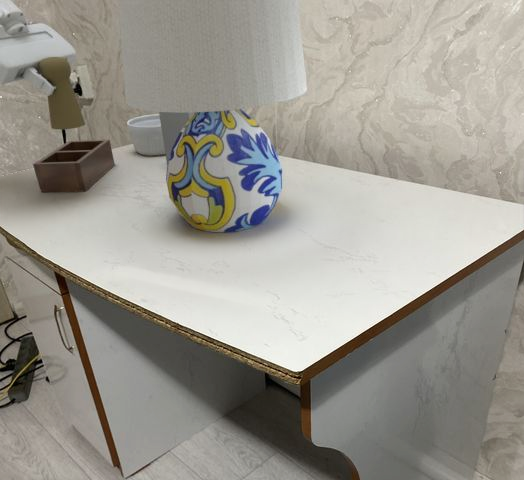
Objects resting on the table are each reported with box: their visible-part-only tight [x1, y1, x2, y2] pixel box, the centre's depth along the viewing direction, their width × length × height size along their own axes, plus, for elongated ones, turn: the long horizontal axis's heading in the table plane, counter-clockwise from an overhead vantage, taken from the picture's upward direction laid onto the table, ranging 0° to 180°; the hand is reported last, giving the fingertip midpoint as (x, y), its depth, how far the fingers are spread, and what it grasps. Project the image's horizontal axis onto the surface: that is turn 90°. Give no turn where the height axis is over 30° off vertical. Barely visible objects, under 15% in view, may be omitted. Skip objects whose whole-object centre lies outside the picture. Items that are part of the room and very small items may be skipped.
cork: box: [39, 57, 86, 130], centre depth 94 cm, size 6×6×11 cm
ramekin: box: [126, 113, 166, 157], centre depth 129 cm, size 13×13×7 cm
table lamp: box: [117, 0, 308, 233], centre depth 80 cm, size 27×27×40 cm
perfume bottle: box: [158, 112, 195, 165], centre depth 114 cm, size 7×7×18 cm
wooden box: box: [32, 139, 116, 193], centre depth 113 cm, size 10×18×6 cm, turn 174°
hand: (62, 89), depth 94 cm, fingers closed on cork, 4 cm apart
